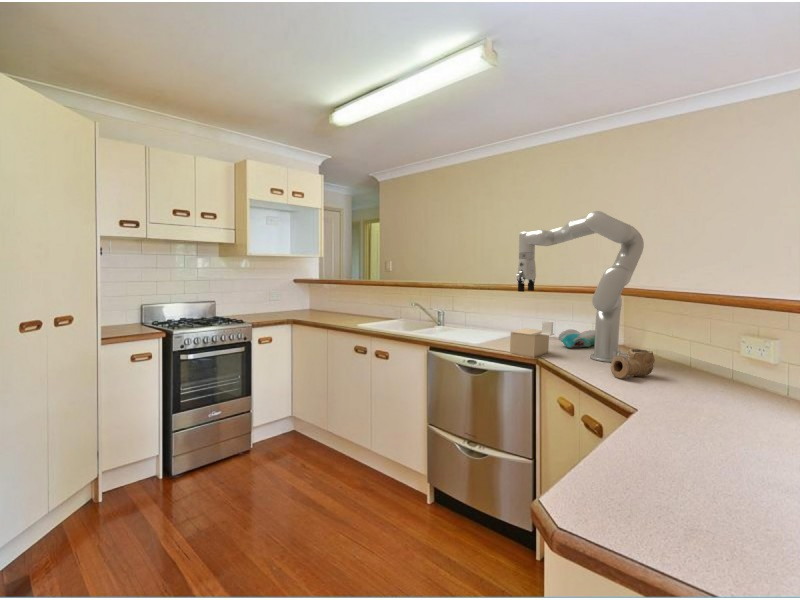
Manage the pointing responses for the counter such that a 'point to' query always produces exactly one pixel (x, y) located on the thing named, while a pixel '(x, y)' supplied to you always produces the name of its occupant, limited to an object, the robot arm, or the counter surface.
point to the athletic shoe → (577, 338)
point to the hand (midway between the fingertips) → (526, 291)
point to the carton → (529, 344)
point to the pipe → (633, 364)
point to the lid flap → (546, 330)
